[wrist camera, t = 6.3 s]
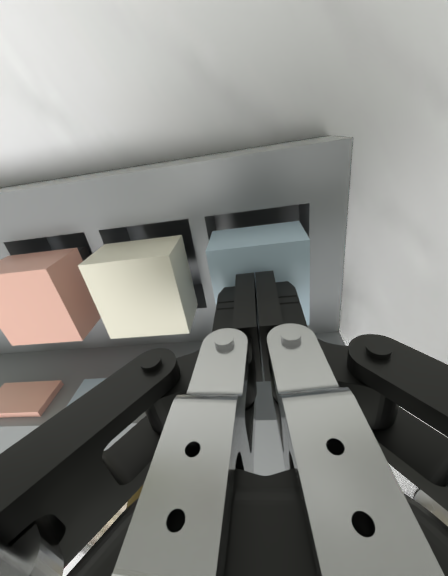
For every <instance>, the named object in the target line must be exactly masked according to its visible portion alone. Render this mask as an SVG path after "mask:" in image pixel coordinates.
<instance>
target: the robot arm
mask: <svg viewBox="0 0 448 576" xmlns="http://www.w3.org/2000/svg"><path fill="white" fill-rule="evenodd" d="M255 276H256V288H255V279H254V273H244V274H236V280H235V286H233V287H224V288H223V289H222V291H221V292H220V293H219V294H218V298H217V304H216V310H215V316H214V322H213V328H212V333H210V334H209V335H208V336H207V337H206V338H205V339H204V340H203V342H202V345H201V348H200V349H199V350H198V351H196V352H193V353H191V354H188V355H184V356H181V357H178V358H176V356H175V354H174V353H173V352H172V351H171V350H169V349H166V348H156V349H151V350H148V351H146V352H144V353H142V354H140V355H139V356H137V357H136V358H135V359H133V360H132V361H130V362H129V363H128V364H126V365H125V366H123V367H122V368H121V369H119V370H118V371H116V372H115V373H113V374H112V375H111V376H109V377H108V378H106V379H105V380H104V381H102V382H101V383H99V384H98V385H97V386H95V387H94V388H92V389H91V390H90V391H88V392H87V393H85V394H84V395H82V396H81V397H80V398H78V399H77V400H75V401H74V402H73V403H71V404H70V405H68V406H67V407H66V408H64V409H63V410H61V411H60V412H58V413H57V414H56V415H54V416H53V417H51V418H50V419H49V420H47V421H46V422H44V423H43V424H42V425H40V426H39V427H37V428H36V429H35V430H33V431H32V432H30V433H29V434H27V435H26V436H25V437H23V438H22V439H20V440H19V441H18V442H16V443H15V444H13V445H12V446H11V447H9V448H8V449H6V450H5V451H4V452H2V453H1V454H0V576H62V574H63V569H64V568H65V567H66V565H67V564H68V563H69V562H70V561H71V560H72V559H73V558H74V557H75V556H76V555H77V554H78V553H79V552H80V551H81V550H82V549H83V548H84V547H85V545H86V544H87V543H88V542H89V541H90V540H91V539H92V538H93V537H94V536H95V535H96V534H97V533H98V532H99V531H100V530H101V529H102V528H103V526H104V525H105V524H106V523H107V522H108V521H109V520H110V519H111V518H112V517H113V516H114V515H115V514H116V513H117V512H118V511H119V510H120V509H121V508H122V506H123V505H124V504H125V503H126V502H127V501H128V500H129V499H130V498H131V497H132V496H133V495H134V494H135V493H136V492H137V491H138V490H139V489H140V487H141V486H142V485H143V484H144V485H143V488H142V491H141V494H140V496H139V498H138V499H136V500H135V501H134V502H133V503H132V504H131V505H130V506H129V507H128V508H127V509H126V510H125V511H124V512H123V513H122V514H121V515H120V516H119V517H118V518H117V519H116V521H115V522H114V523H113V524H112V525H111V526H110V527H109V528H108V530H107V531H106V532H105V533H104V534H103V535H102V536H101V537H100V539H99V540H98V541H97V542H96V543H95V544H94V545H93V546H92V548H91V549H90V550H89V551H88V552H87V553H86V554H85V555H84V557H83V558H82V559H81V560H80V561H79V562H78V563H77V564H76V566H75V567H74V568H73V569H72V570H71V571H70V572H69V573H68V575H67V576H448V438H447V437H448V365H447V364H445V363H443V362H441V361H438V360H436V359H434V358H432V357H430V356H428V355H426V354H423V353H421V352H419V351H417V350H415V349H413V348H411V347H408V346H406V345H404V344H402V343H400V342H398V341H396V340H394V339H391V338H389V337H385V336H381V335H375V334H367V335H361V336H358V337H356V338H354V339H353V340H352V341H351V342H350V343H349V346H343V345H337V344H331V343H327V342H324V341H322V340H320V339H318V338H316V336H315V334H314V332H313V331H312V330H310V329H309V328H308V326H307V323H306V320H305V316H304V313H303V310H302V307H301V304H300V301H299V297H298V294H297V291H296V288H295V287H294V286H293V285H292V284H291V283H290V282H288V281H284V282H275V277H274V272H273V270H272V271H263V272H255ZM256 291H257V298H256ZM257 306H258V307H257ZM260 341H261V347H260ZM261 350H262V359H263V369H264V378H265V381H271V389H272V399H273V407H274V412H275V417H276V423H277V428H278V433H279V439H280V444H281V449H282V455H283V460H284V466H285V471H283V472H279V473H276V474H273V475H269V476H262V475H258V474H254V443H255V422H256V395H257V384H256V382H263V376H262V361H261ZM399 406H400V407H402V408H403V409H405V410H407V411H408V412H410V413H411V414H413V415H414V416H416V417H418V418H419V419H421V420H422V421H424V422H425V423H427V424H429V425H430V426H432V427H433V428H435V429H436V430H438V431H440V432H441V433H443V434H444V435H446V436H447V437H445V436H444V435H442V434H440V433H439V432H437V431H436V430H434V429H433V428H431V427H430V426H428V425H426V424H425V423H423V422H422V421H420V420H419V419H417V418H416V417H414V416H412V415H411V414H409V413H408V412H406V411H405V410H403V409H401V408H400V407H399ZM144 412H145V413H146V416H145V417H144V418H143V419H141V420H140V421H139V422H138V423H137V424H136V425H135V426H134V427H132V428H131V429H130V430H129V431H128V432H127V433H126V434H124V435H123V436H122V437H121V438H120V439H119V440H118V441H116V442H115V443H114V444H113V445H112V446H111V447H110V448H108V449H107V450H105V451H104V449H105V448H106V446H107V445H108V444H109V443H110V442H111V441H112V440H113V439H114V438H115V437H116V436H117V435H119V434H120V433H121V432H122V431H123V430H124V429H126V428H127V427H128V426H129V425H130V424H131V423H132V422H134V421H135V420H136V419H137V418H138V417H139V416H140V415H142V414H143V413H144ZM388 463H389V464H390V465H391V466H392V467H394V468H395V469H396V470H397V471H399V472H400V473H401V474H402V475H404V476H405V477H406V478H407V479H408V480H410V481H411V482H412V483H413V484H415V485H416V486H417V487H418V488H420V490H419V491H418V492H417V494H416V495H415V498H414V500H413V499H412V498H410V497H409V496H407V495H405V494H404V493H403V492H402V490H401V488H400V486H399V484H398V482H397V480H396V478H395V476H394V474H393V472H392V470H391V468H390V466H389V464H388Z"/></svg>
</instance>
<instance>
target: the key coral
mask: <svg viewBox="0 0 448 576" xmlns="http://www.w3.org/2000/svg"><path fill="white" fill-rule="evenodd" d="M89 256H90V255H89V252H88V250H87V247H86V246H85V247H77V248H69V249H60V250H52V251H44V252H35V253H27V254H19V255H11V256H7V257H5V258H3V259H1V260H0V329H1V330H2V332H3V333H4V335H5V336H6V338H7V339H8V341H9V342H10V343H11V345H12V346H16V345H31V344H45V343H59V342H74V341H83V340H84V339H85V337H86V336H87V335H88V333H89V332H90V331H91V330H92V328H93V327H94V326H95V325H96V323H97V322H98V321H99V319H100V318H101V316H100V314H99V312H98V310H97V307H96V305H95V303H94V301H93V298H92V296H91V294H90V292H89V290H88V287H87V285H86V283H85V281H84V278H83V276H82V274H81V272H80V269H79V267H78V265H79V264H80V263H82V262H83V261H84V260H85V259H87V258H88V257H89Z"/></svg>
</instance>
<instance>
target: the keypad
mask: <svg viewBox="0 0 448 576" xmlns="http://www.w3.org/2000/svg"><path fill="white" fill-rule="evenodd" d="M352 147H353V137H339V136H323V137H317V138H311V139H305V140H298V141H292V142H286V143H280V144H273V145H267V146H261V147H255V148H248V149H242V150H236V151H230V152H223V153H217V154H211V155H205V156H198V157H192V158H186V159H180V160H173V161H167V162H161V163H155V164H148V165H142V166H136V167H130V168H123V169H117V170H111V171H104V172H98V173H92V174H86V175H79V176H73V177H67V178H61V179H54V180H48V181H42V182H36V183H29V184H23V185H17V186H11V187H4V188H0V260H1V259H3V258H5V257H7V256H11V255H19V254H27V253H35V252H44V251H52V250H60V249H69V248H77V247H85V246H86V247H87V250H88V252H89V255H92V254H93V253H94V252H95V251H97V250H98V249H99V248H100V247H102V246H103V245H104V244H110V243H119V242H126V241H135V240H143V239H151V238H160V237H168V236H176V235H182V238H183V242H184V247H185V251H186V255H187V260H188V264H189V268H190V273H191V277H192V281H193V286H194V290H195V294H196V299H197V303H198V305H197V309H196V312H195V316H194V319H193V323H192V326H191V330H190V333H189V334H174V335H160V336H145V337H131V338H117V339H110V336H109V334H108V332H107V330H106V327H105V325H104V323H103V321H102V319H101V318H100V319H99V321H98V322H97V323H96V325H95V326H94V327H93V328H92V330H91V331H90V332H89V333H88V335H87V336H86V337H85V339H84V340H83V341H74V342H59V343H45V344H31V345H16V346H12V345H11V343H10V342H9V341H8V339H7V338H6V336H5V335H4V333H3V332H2V330H1V329H0V454H1V453H2V452H4V451H5V450H6V449H8V448H9V447H11V446H12V445H13V444H15V443H16V442H18V441H19V440H20V439H22V438H23V437H25V436H26V435H27V434H29V433H30V432H32V431H33V430H35V429H36V428H37V427H39V426H40V425H42V424H43V423H44V422H46V421H47V420H49V419H50V418H51V417H53V416H54V415H56V414H57V413H58V412H60V411H61V410H63V409H64V408H66V407H67V406H68V405H70V404H71V403H73V402H74V401H75V400H77V399H78V398H80V397H81V396H82V395H84V394H85V393H87V392H88V391H90V390H91V389H92V388H94V387H95V386H97V385H98V384H99V383H101V382H102V381H104V380H105V379H106V378H108V377H109V376H111V375H112V374H113V373H115V372H116V371H118V370H119V369H121V368H122V367H123V366H125V365H126V364H128V363H129V362H130V361H132V360H133V359H135V358H136V357H137V356H139V355H140V354H142V353H144V352H146V351H148V350H151V349H156V348H166V349H169V350H171V351H172V352H173V353H174V354H175V356H176V358H178V357H181V356H184V355H188V354H191V353H193V352H196V351H198V350H199V349H200V348H201V345H202V342H203V340H204V339H205V338H206V337H207V336H208V335H209V334H210V333H212V328H213V322H214V316H215V310H216V304H215V298H214V293H213V288H212V283H211V278H210V272H209V267H208V262H207V257H206V252H205V251H206V248H207V245H208V243H209V240H210V237H211V234H212V231H218V230H226V229H234V228H242V227H251V226H259V225H267V224H275V223H284V222H292V221H300V223H301V225H302V227H303V228H304V230H305V232H306V234H307V235H308V237H309V239H310V321H309V325H307V326H308V328H309V329H310V330H312V331H313V332H314V334H315V336H316V338H318V339H320V340H322V341H324V342H327V343H331V344H337V345H343V346H345V344H344V342H343V340H342V337H341V335H340V333H339V323H340V310H341V296H342V283H343V269H344V255H345V242H346V228H347V215H348V201H349V187H350V174H351V160H352ZM260 347H261V341H260ZM261 361H262V376H263V382H256V384H257V395H256V422H255V443H254V474H258V475H262V476H269V475H273V474H276V473H279V472H283V471H285V466H284V460H283V455H282V449H281V444H280V439H279V433H278V428H277V423H276V417H275V412H274V407H273V399H272V389H271V381H265V378H264V369H263V359H262V350H261ZM145 416H146V413H145V412H144V413H143V414H142V415H140V416H139V417H138V418H137V419H136V420H135V421H134V422H132V423H131V424H130V425H129V426H128V427H127V428H126V429H124V430H123V431H122V432H121V433H120V434H119V435H117V436H116V437H115V438H114V439H113V440H112V441H111V442H110V443H109V444H108V445H107V446H106V448H105V449H104V451H105V450H107V449H108V448H110V447H111V446H112V445H113V444H114V443H115V442H116V441H118V440H119V439H120V438H121V437H122V436H123V435H124V434H126V433H127V432H128V431H129V430H130V429H131V428H132V427H134V426H135V425H136V424H137V423H138V422H139V421H140V420H141V419H143V418H144V417H145Z"/></svg>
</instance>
